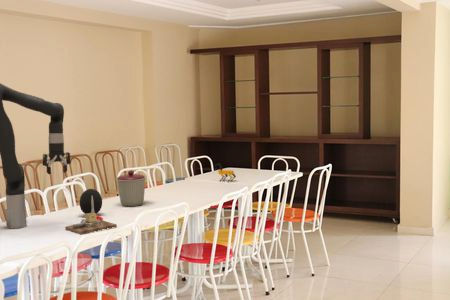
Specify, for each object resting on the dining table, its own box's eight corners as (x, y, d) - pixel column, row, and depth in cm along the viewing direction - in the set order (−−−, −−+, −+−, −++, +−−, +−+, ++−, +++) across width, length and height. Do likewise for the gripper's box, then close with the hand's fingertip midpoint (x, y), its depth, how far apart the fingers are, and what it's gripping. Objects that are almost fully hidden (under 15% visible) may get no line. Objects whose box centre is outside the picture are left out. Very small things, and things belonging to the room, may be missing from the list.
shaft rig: (81, 234, 288) (80, 227, 288) (65, 229, 300) (65, 222, 300) (116, 227, 302) (116, 220, 301) (100, 222, 314) (100, 215, 313)
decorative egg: (76, 215, 333) (74, 189, 332) (96, 212, 341) (94, 186, 339) (86, 218, 324) (85, 191, 322) (107, 215, 332) (105, 188, 330)
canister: (141, 208, 349) (139, 172, 347) (112, 207, 352) (110, 172, 350) (151, 202, 366) (149, 168, 364) (123, 201, 370) (121, 168, 368)
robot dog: (216, 179, 447) (216, 162, 445) (236, 181, 437) (235, 163, 435) (212, 181, 442) (211, 163, 441) (232, 182, 432) (231, 164, 430)
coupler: (89, 226, 298) (89, 214, 297) (85, 225, 301) (85, 213, 300) (96, 225, 301) (96, 213, 300) (92, 224, 304) (92, 212, 303)
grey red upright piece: (104, 221, 318) (100, 217, 326) (103, 198, 316) (99, 194, 324) (88, 223, 314) (85, 219, 323) (87, 199, 312) (83, 196, 321)
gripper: (65, 140, 313) (66, 171, 314) (39, 142, 303) (40, 173, 305) (72, 141, 307) (73, 172, 309) (46, 143, 298) (47, 175, 299)
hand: (57, 173), depth 307 cm, fingers open, 8 cm apart
